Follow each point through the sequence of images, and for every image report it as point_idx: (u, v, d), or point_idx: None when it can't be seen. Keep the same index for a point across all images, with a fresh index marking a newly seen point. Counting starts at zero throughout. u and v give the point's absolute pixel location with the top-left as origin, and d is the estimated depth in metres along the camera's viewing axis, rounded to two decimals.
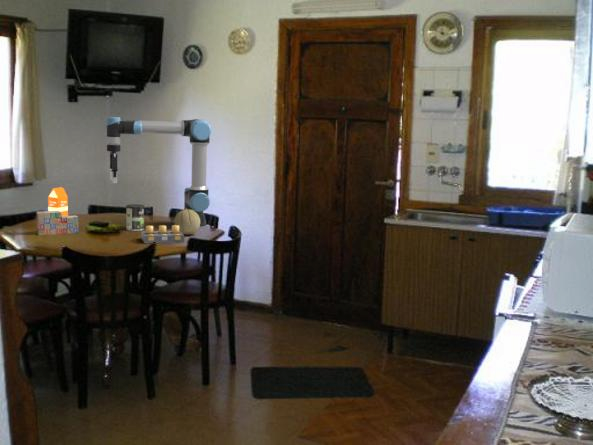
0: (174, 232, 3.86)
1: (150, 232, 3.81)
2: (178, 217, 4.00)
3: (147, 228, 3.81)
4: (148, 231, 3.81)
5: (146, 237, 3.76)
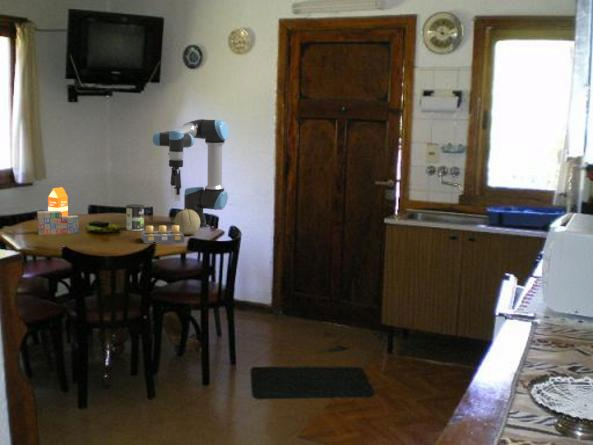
0: (174, 232, 3.86)
1: (150, 232, 3.81)
2: (178, 217, 4.00)
3: (147, 228, 3.81)
4: (148, 231, 3.81)
5: (146, 237, 3.76)
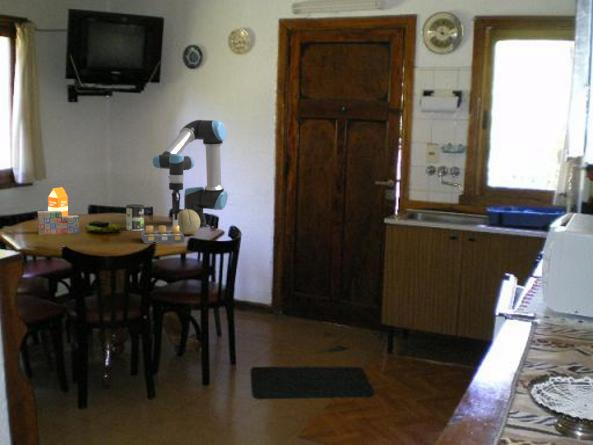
0: (174, 232, 3.86)
1: (150, 232, 3.81)
2: (178, 217, 4.00)
3: (147, 228, 3.81)
4: (148, 231, 3.81)
5: (146, 237, 3.76)
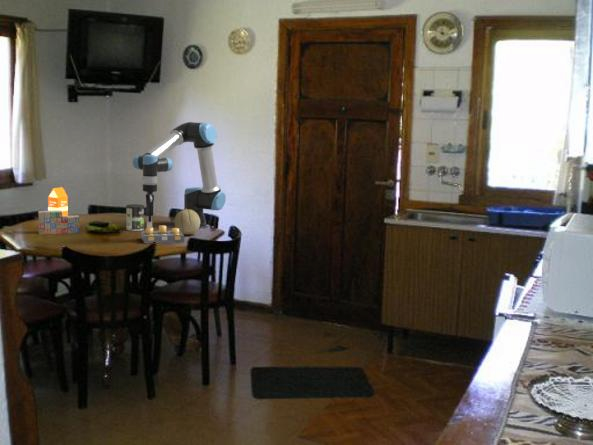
0: None
1: None
2: (178, 217, 4.00)
3: (147, 230, 3.81)
4: (148, 233, 3.81)
5: (146, 237, 3.76)
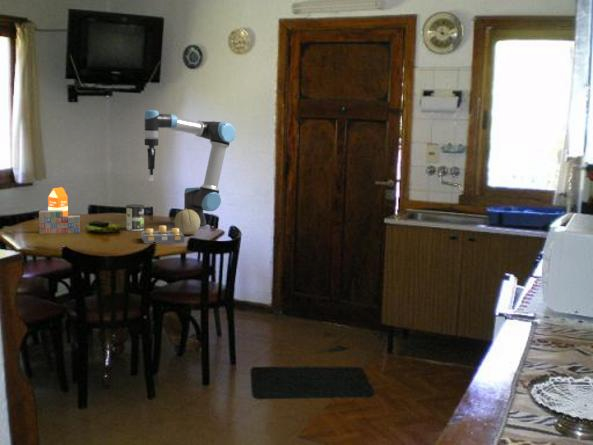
0: None
1: None
2: (178, 217, 4.00)
3: (147, 231, 3.81)
4: None
5: (146, 237, 3.76)
